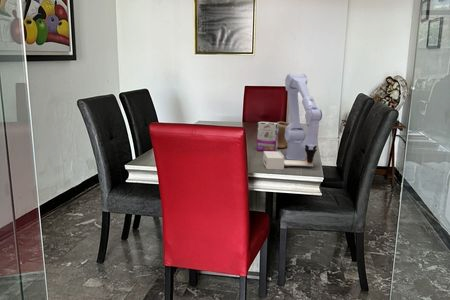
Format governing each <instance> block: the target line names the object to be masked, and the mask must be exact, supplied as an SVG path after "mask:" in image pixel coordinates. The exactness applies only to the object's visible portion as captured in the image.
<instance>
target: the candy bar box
mask: <svg viewBox="0 0 450 300" xmlns="http://www.w3.org/2000/svg"><path fill="white" fill-rule="evenodd" d="M278 128H279V123H277V122H270V121H258V122H257V131H256V132H257V133H256V134H257V135H256V151H258V152H264V151H274V152H278V148H277V146H278Z"/></svg>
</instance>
